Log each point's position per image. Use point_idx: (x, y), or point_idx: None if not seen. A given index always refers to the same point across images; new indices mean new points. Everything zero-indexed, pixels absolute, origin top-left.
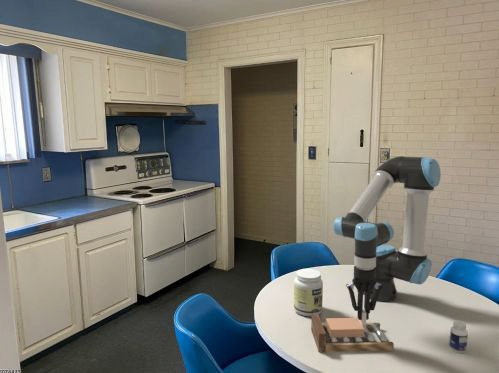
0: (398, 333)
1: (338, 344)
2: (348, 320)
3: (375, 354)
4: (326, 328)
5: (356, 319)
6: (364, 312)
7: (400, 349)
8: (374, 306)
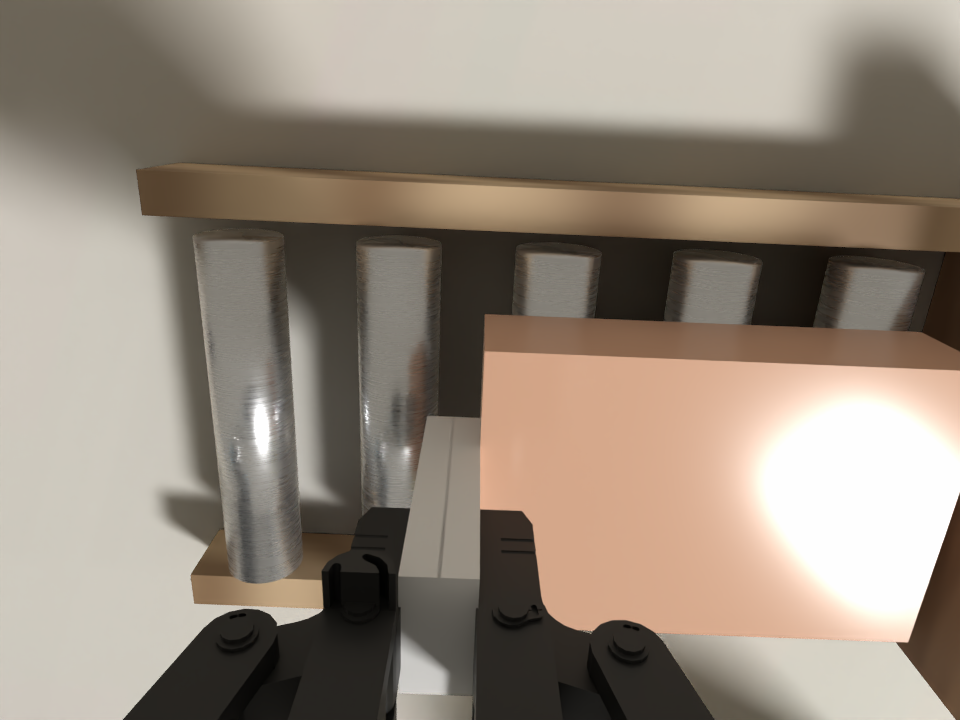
0: (40, 465)
1: (856, 211)
2: (625, 574)
3: (410, 102)
4: None
5: None
6: (433, 588)
7: (90, 177)
8: (175, 681)
